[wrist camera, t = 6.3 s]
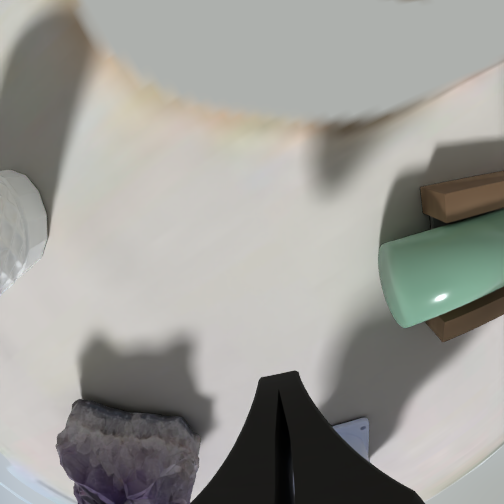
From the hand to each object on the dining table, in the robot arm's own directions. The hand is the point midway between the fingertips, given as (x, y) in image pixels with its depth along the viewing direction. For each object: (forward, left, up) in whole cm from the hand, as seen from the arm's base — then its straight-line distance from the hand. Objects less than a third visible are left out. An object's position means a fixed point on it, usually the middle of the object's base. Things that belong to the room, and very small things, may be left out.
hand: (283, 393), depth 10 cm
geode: (-14, +16, -8) cm, 23 cm away
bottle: (+1, -6, -5) cm, 8 cm away
